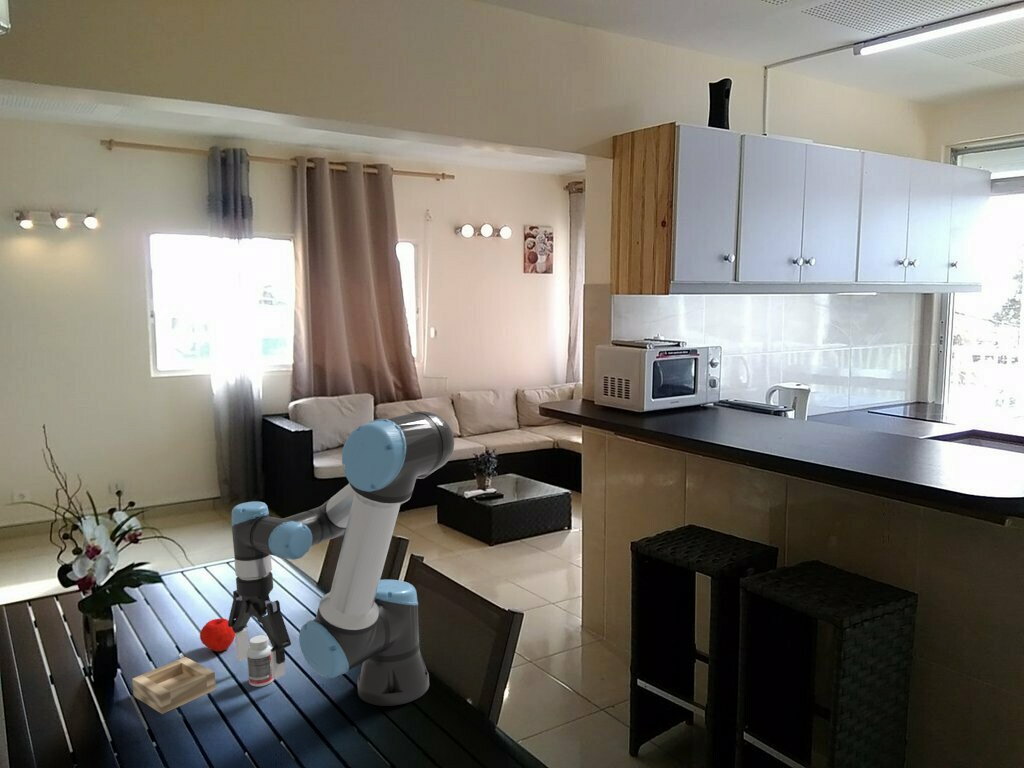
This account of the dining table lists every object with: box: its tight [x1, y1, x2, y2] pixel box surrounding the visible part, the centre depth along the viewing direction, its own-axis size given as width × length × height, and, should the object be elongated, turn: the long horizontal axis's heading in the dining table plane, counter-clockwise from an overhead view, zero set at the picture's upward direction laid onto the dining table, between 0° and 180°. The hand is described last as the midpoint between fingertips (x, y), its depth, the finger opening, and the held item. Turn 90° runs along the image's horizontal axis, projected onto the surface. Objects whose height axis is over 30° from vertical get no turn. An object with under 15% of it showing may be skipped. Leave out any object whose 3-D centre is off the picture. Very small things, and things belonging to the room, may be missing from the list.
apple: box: [199, 617, 235, 652], centre depth 187 cm, size 8×8×7 cm
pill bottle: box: [247, 634, 275, 688], centre depth 171 cm, size 5×5×10 cm
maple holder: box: [131, 656, 217, 715], centre depth 167 cm, size 12×12×4 cm
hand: (260, 667), depth 171 cm, fingers open, 13 cm apart
